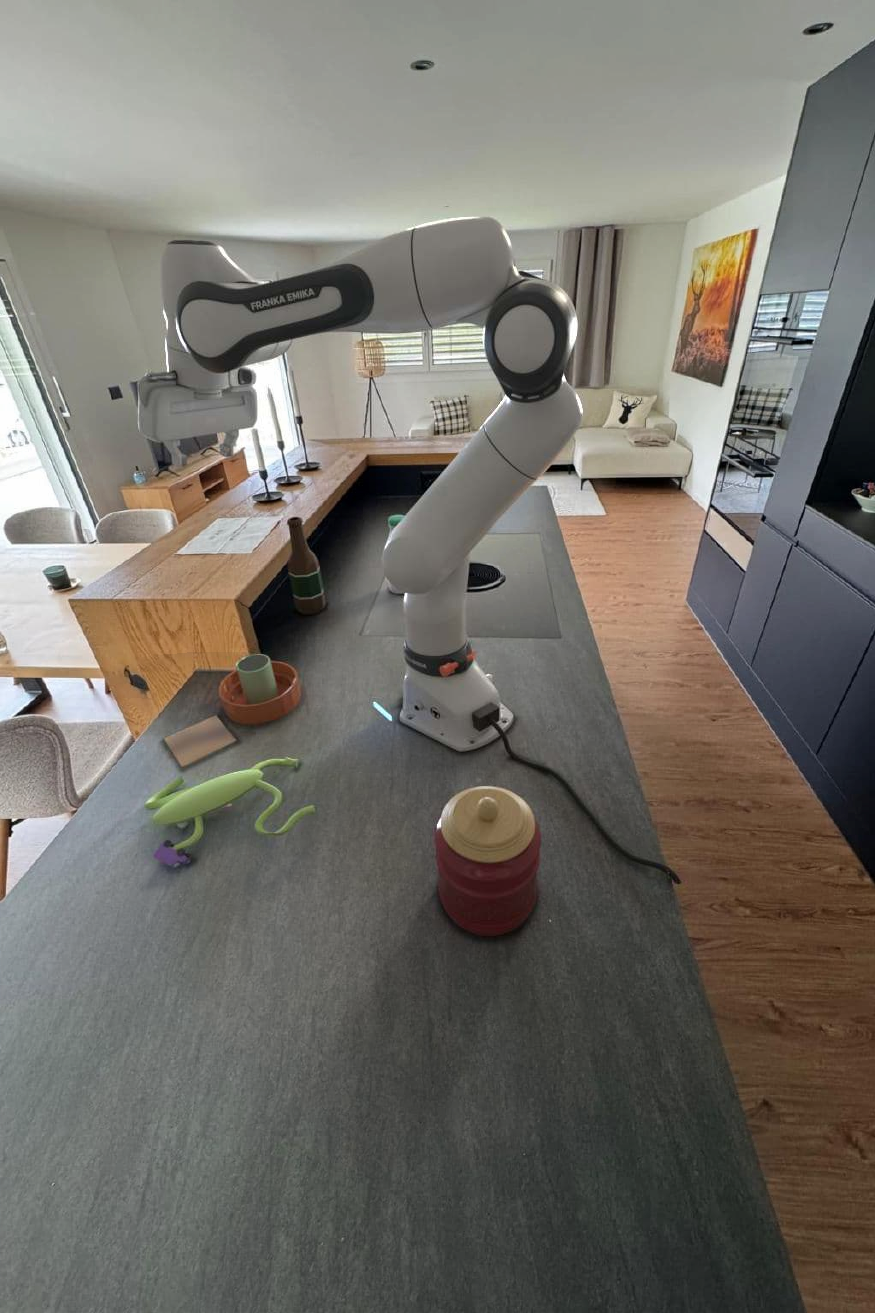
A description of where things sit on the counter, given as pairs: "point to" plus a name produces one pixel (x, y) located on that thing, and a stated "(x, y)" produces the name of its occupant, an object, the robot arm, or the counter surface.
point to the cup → (257, 679)
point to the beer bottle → (304, 571)
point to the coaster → (199, 740)
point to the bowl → (264, 711)
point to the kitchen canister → (487, 860)
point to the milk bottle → (392, 524)
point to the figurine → (213, 806)
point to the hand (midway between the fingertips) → (204, 460)
